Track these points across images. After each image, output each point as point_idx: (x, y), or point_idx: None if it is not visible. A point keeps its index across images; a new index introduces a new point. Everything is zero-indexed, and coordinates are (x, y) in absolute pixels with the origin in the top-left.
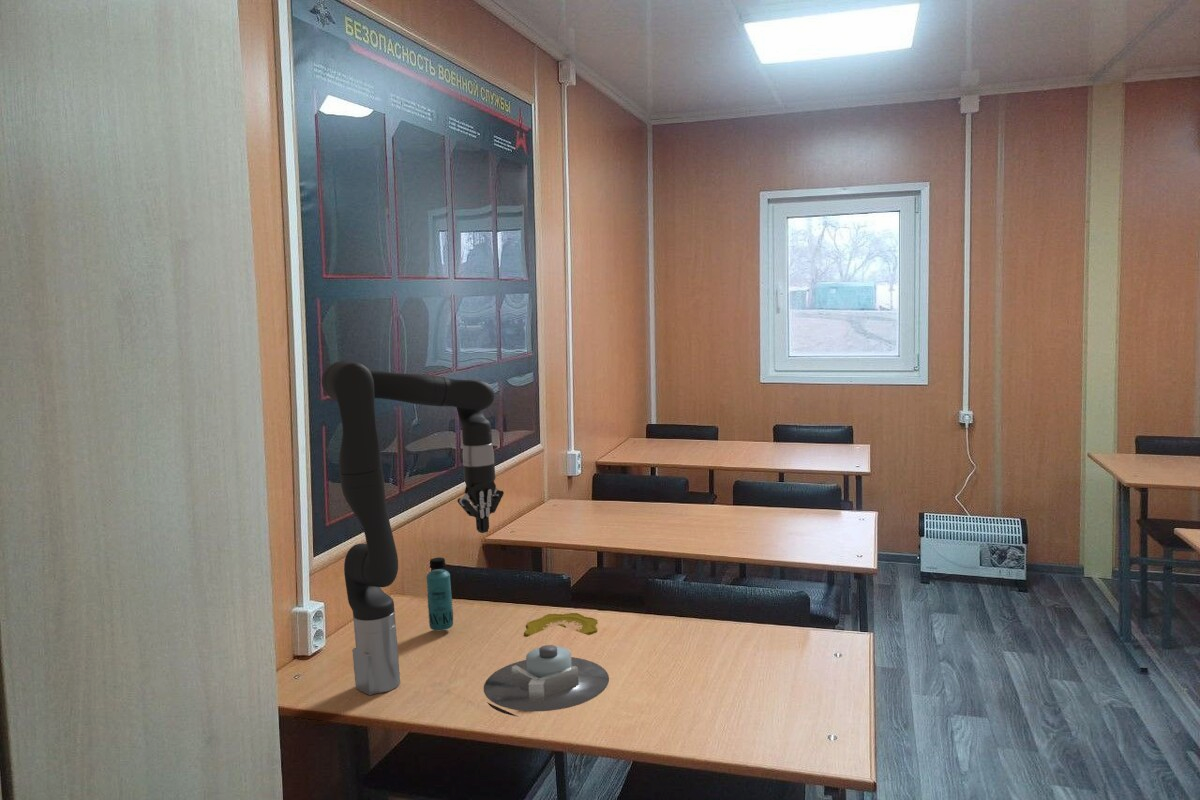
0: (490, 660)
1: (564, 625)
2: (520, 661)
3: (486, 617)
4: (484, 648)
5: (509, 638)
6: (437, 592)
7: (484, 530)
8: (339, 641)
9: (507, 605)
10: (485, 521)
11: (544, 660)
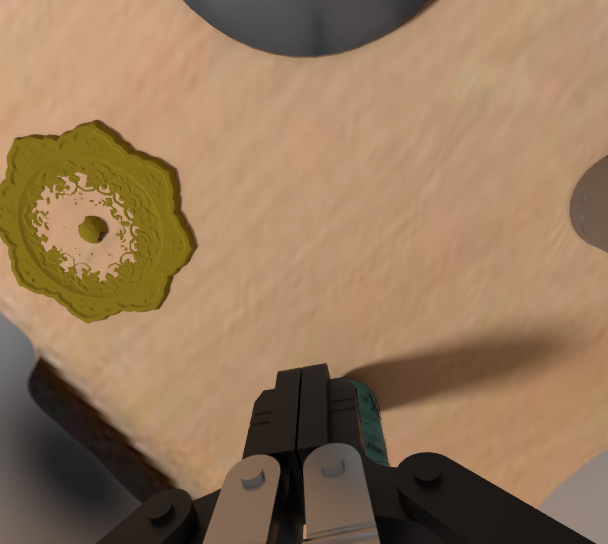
0: (338, 158)
1: (80, 225)
2: (296, 52)
3: (223, 405)
4: (314, 239)
5: (234, 255)
6: (374, 452)
7: (314, 370)
8: (545, 481)
9: (150, 438)
10: (294, 423)
11: None
